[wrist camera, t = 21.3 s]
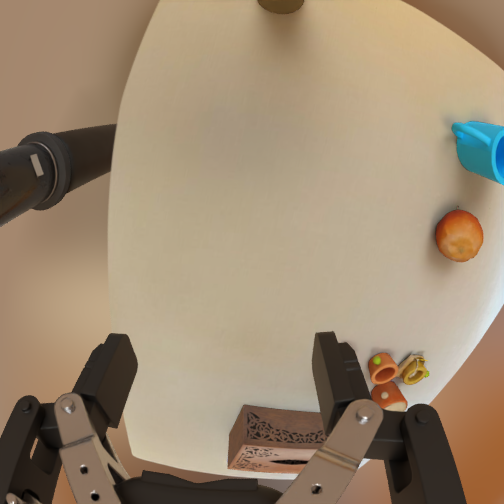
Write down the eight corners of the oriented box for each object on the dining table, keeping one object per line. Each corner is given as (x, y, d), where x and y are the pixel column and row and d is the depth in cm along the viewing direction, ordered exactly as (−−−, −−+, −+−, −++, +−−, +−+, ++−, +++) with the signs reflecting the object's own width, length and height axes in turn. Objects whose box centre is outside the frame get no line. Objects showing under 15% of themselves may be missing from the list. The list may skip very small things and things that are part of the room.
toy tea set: (432, 353, 52) (450, 385, 43) (392, 399, 58) (403, 431, 49) (331, 333, 48) (344, 375, 39) (293, 388, 54) (299, 428, 45)
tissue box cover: (350, 413, 59) (359, 448, 50) (324, 442, 65) (329, 472, 56) (243, 404, 56) (243, 444, 47) (229, 434, 62) (227, 468, 53)
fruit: (482, 225, 37) (491, 260, 33) (444, 241, 43) (447, 276, 38) (467, 188, 35) (477, 221, 30) (425, 206, 41) (429, 240, 36)
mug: (495, 136, 32) (529, 145, 25) (481, 180, 36) (514, 195, 28) (447, 98, 31) (483, 100, 23) (432, 147, 34) (466, 158, 27)
